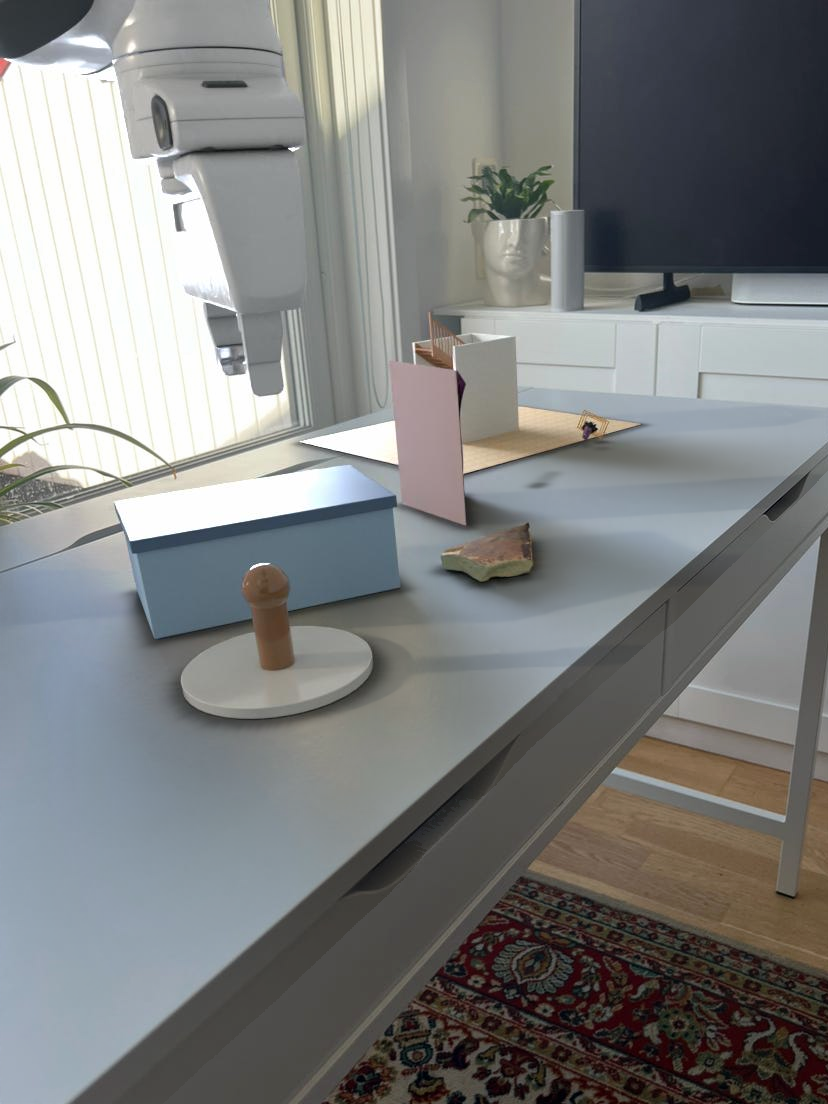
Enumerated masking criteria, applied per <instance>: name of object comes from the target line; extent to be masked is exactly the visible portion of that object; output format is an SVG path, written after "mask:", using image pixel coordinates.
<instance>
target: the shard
mask: <svg viewBox="0 0 828 1104" xmlns="http://www.w3.org/2000/svg"><path fill="white" fill-rule="evenodd" d="M530 528H531V525H530V522H526V523H525V524H523V525H518V526H515V527H512V528H510V529H507V530H503V531H500V532H499V531H498V532H496V533H495V532H494V533H491V534H488V535H485V536H482V537H478V538H475V539H472V540H469V541H467V542H463V543H460V544H458V545H456V546H452V547H450V548H448V549H444V551H443V552H442V553H441V555H440V561H441V566H442V569H443V570H450V571H458V572H464V573H465V574H468V576H470V577H471V578H473V579H475V580H476V581H478V582H480V583H481V582H486V581H489V580H490V578H494V577H500V578H504V577H506V578H509V577H518V576H520V575H524V574H528V573H530V572H531V571H532V567H533V566H534V560H533V551H532V543H533V542H532V535H531V532H530Z"/></svg>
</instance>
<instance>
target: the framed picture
mask: <svg viewBox="0 0 828 1104" xmlns="http://www.w3.org/2000/svg"><path fill="white" fill-rule="evenodd" d="M581 415H582V416H584V418H585V416H586V418H587V416H589V417H591V418H593V417H595V418H597V419H599V418H600V419H599V420H598V421H600V420H601V419H602V420H601V421H600V422H602V421H603V420H605V419H606V418H603V417H601V416H600V415H597V414H595V413H592V412H590V411H588V410H587V409H583V411H582V414H581ZM582 416H581V419H582ZM584 418H583V420H584ZM595 418H593V419H595ZM581 419H580V421H579V424H580V422H581ZM597 419H596V420H597ZM583 420H582V423H583ZM585 421H586V419H585ZM585 421H584V423H583V426H582V427H581V425H582V423H581V425H580V427H581V428H579V424H578V426H577V428H579V429H581V430H583V436H582V438H583V439H585V440H584V441H586V440H589V439H588V438H589V436H590V434H592V433H593V434H592V435H594V434H596V433H597V432H596V431H597V430H598V428H596V427H595V426H596V424H593V423H594V422H593V423H592V422H591V421H590V422H589V423H588V422H587V421H586V422H587V423H586V422H585ZM606 421H607V420H605V421H603V422H602V423H604V422H605V424H606ZM607 422H608V423H607V426H608V424H609V421H607ZM602 426H603V424H602ZM602 426H601V428H602ZM607 426H606V428H607ZM604 427H605V425H604ZM604 427H603V429H604ZM606 428H605V430H604V433H605V431H606ZM603 429H602V432H603ZM600 431H601V429H600ZM600 431H599V433H600ZM594 432H595V433H594ZM602 432H601V434H602ZM599 433H597V434H596V435H594V436H596V437H595V438H598V439H599V440H602V439H603V438H604V435H605V434H604V433H603V435H601V434H600V435H598V434H599ZM597 435H598V436H597Z"/></svg>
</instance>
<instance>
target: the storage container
mask: <svg viewBox="0 0 828 1104" xmlns="http://www.w3.org/2000/svg"><path fill="white" fill-rule="evenodd" d="M397 500H398V499H397V495H396V494H395V493H393V492H392V491H390V490H389V489H388V488H386V487H385V486H383V485H381V484H380V483H379V482H377V481H375V480H374V479H373V478H370V477H369V476H368V475H366V474H365V473H363V472H362V471H361V470H359V469H357V468H355V466H353V465H351V464H350V463H349V464H342V465H334V466H328V467H323V468H316V469H310V470H303V471H296V472H291V473H284V474H278V475H272V476H266V477H259V478H253V479H245V480H240V481H232V482H228V483H222V484H215V485H208V486H203V487H195V488H190V489H184V490H177V491H171V492H165V493H158V494H153V495H146V496H145V495H144V496H139V497H134V498H127V499H126V498H125V499H120V500H115V501H113V506H114V510H115V515H116V516H117V519H118V521H119V524H120V526H121V529H122V532H123V534H124V537H125V542H126V547H127V550H128V556H129V560H130V565H131V569H132V574H133V578H134V579H133V580H134V583H135V588H136V592H137V595H138V597H139V600H140V603H141V606H142V608H143V611H144V613H145V616H146V619H147V622H148V625H149V627H150V630H151V633H152V635H153V638H154V639H155V640H158V639H163V638H167V637H171V636H172V637H173V636H176V635H177V636H178V635H182V634H186V633H191V632H196V631H201V630H206V629H211V628H215V627H219V626H224V625H230V624H234V623H238V622H244V621H248V620H252V615H251V609H250V605H249V604H247V602H246V601H245V600H244V598H243V595H242V592H241V582H242V579H243V576H244V575H245V573H246V572H247V571H248V570H249V569H250V568H251V567H253V566H255V565H257V564H262V563H269V564H273V565H276V566H278V567H279V568H281V569H282V570H283V571H284V572H285V574H286V575H287V577H288V579H289V582H290V593H289V596H288V598H287V600H286V603H287V609H288V612H290V611H295V610H300V609H301V610H302V609H305V608H309V607H314V606H319V605H324V604H329V603H334V602H338V601H342V600H343V601H344V600H348V599H353V598H356V597H363V596H367V595H373V594H377V593H382V592H385V591H390V590H396V589H399V588H401V578H400V568H399V558H398V548H397V537H396V528H395V527H396V526H395V518H394V517H395V515H394V508H397V507H398V501H397Z"/></svg>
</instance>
